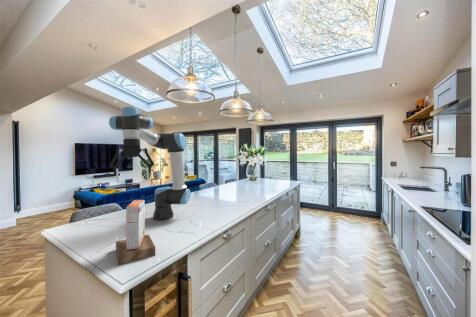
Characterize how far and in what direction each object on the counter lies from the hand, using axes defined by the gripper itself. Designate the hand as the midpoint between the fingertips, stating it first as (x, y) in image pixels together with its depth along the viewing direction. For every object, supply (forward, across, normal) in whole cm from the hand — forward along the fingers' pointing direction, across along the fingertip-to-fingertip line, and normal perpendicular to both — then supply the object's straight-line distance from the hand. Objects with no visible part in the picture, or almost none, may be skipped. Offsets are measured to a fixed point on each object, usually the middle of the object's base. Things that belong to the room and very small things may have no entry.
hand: (133, 180), depth 105 cm
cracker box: (+32, 0, -1) cm, 32 cm away
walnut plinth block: (+37, 0, -1) cm, 37 cm away
